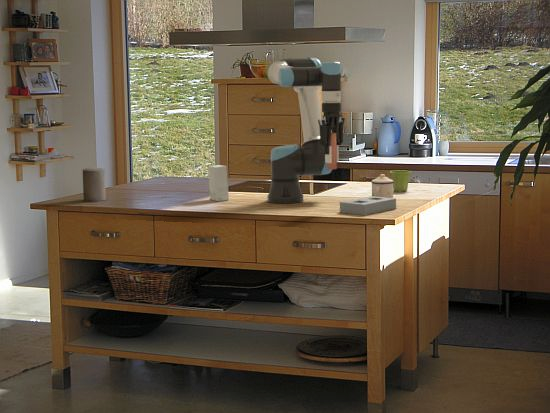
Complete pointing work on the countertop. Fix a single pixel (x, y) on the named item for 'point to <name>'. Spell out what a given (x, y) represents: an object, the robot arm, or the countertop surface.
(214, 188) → the skincare box
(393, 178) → the plant pot
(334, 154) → the dowel
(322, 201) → the countertop surface
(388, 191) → the teacup with lid
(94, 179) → the pillar candle
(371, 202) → the bore block
